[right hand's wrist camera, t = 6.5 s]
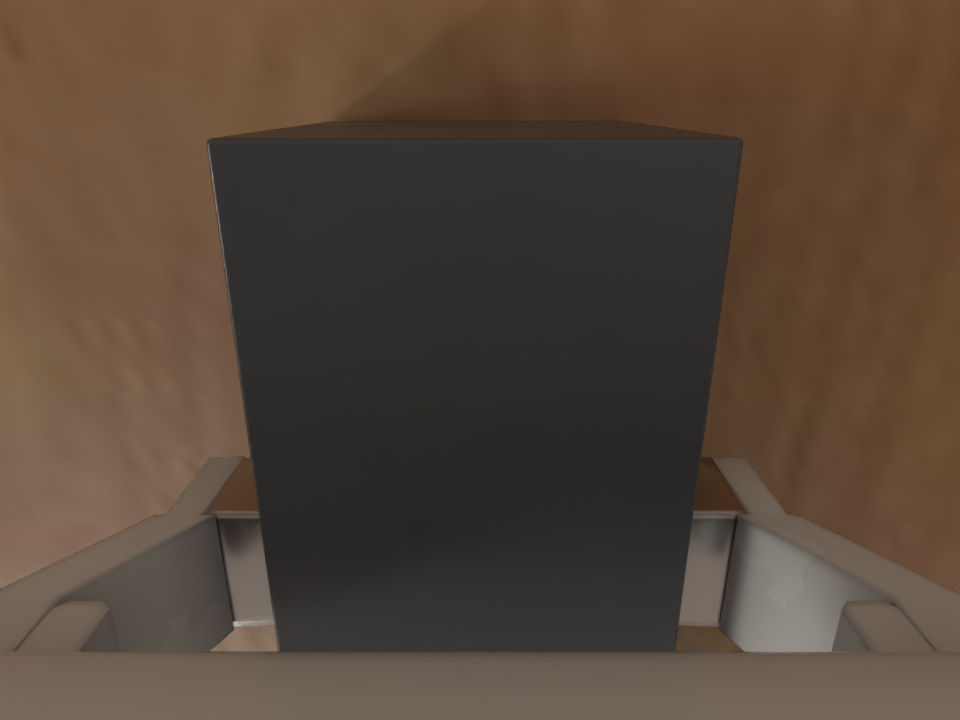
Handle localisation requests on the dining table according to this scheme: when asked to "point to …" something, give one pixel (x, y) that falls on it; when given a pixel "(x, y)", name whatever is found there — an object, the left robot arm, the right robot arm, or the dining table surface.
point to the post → (475, 375)
